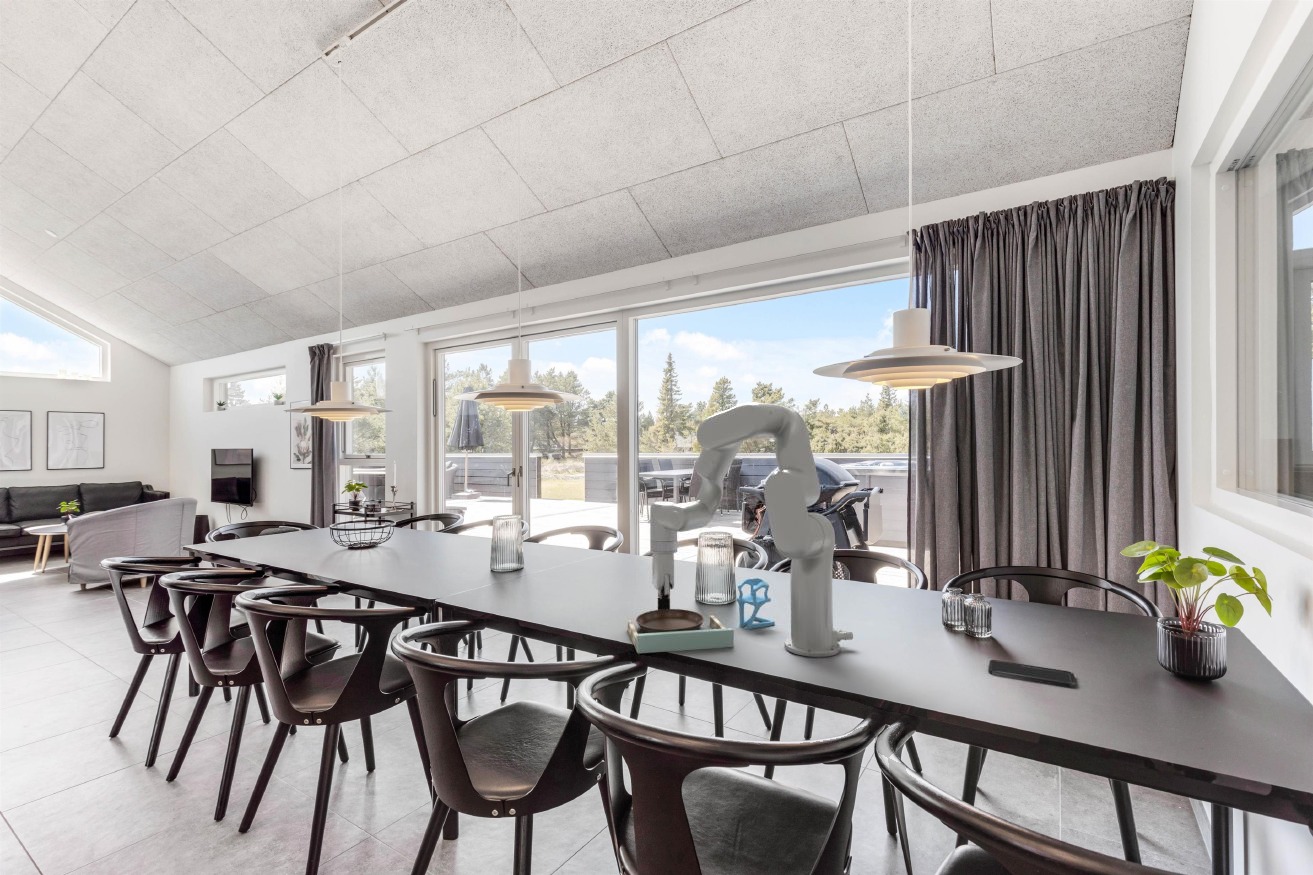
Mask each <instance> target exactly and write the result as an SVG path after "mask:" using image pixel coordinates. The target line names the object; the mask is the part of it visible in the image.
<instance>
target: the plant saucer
mask: <svg viewBox="0 0 1313 875" xmlns="http://www.w3.org/2000/svg"><path fill="white" fill-rule="evenodd" d="M704 621H705V617H704V615H702V614H701V613H699V612H697V611H692V610H688V609H680V608H670V609H661V610H658V609H654V610H649V611H647V612H643V613H641V614H639V615H638V616H637V617H636V619H635V622H636V623H637V625H638V626H639V628H640V629H641V630H642V631H643V632H644V634H645V633H661V632H676V631H692V630H699V629H700V627H701V626H702V624H703V623H704Z"/></svg>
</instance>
